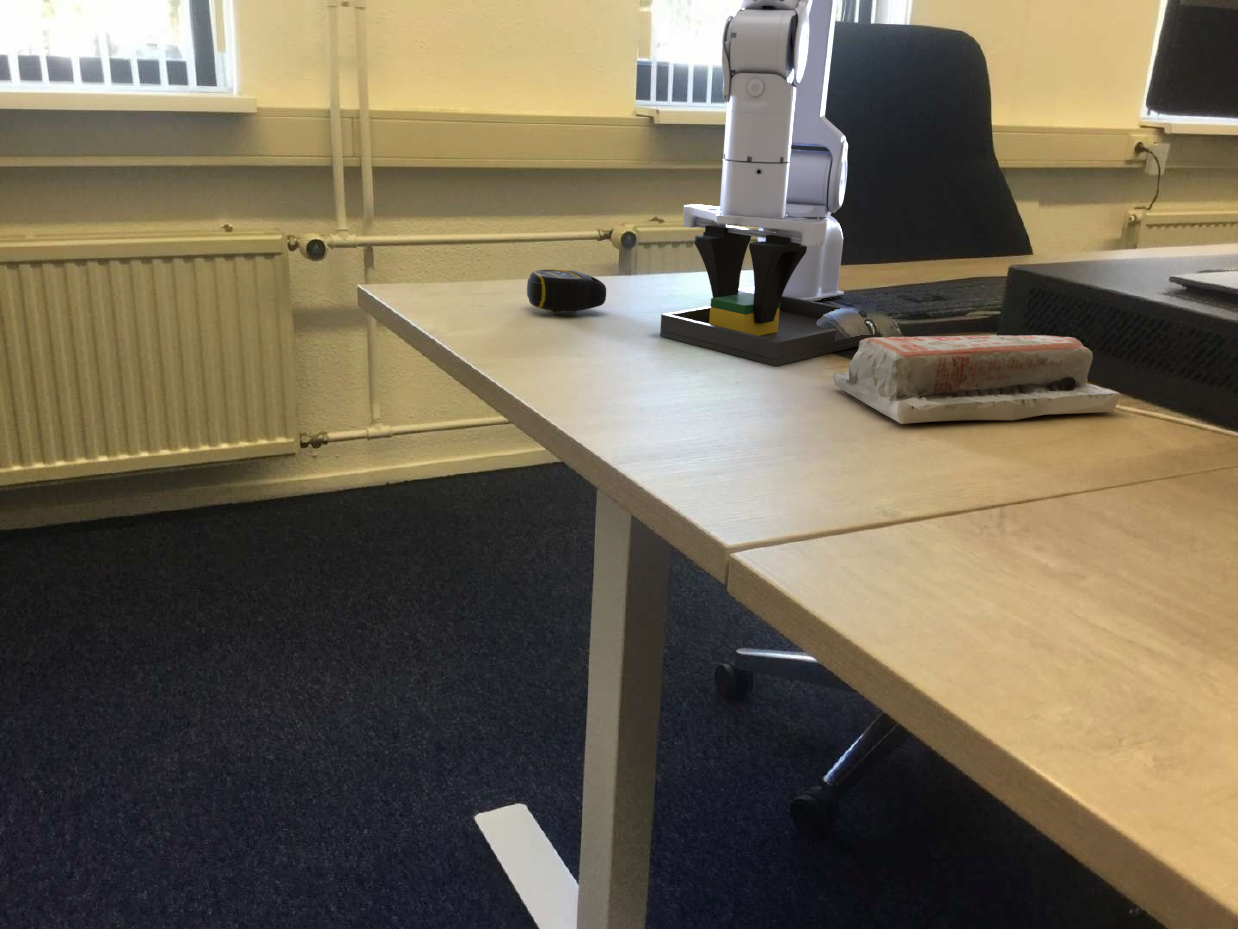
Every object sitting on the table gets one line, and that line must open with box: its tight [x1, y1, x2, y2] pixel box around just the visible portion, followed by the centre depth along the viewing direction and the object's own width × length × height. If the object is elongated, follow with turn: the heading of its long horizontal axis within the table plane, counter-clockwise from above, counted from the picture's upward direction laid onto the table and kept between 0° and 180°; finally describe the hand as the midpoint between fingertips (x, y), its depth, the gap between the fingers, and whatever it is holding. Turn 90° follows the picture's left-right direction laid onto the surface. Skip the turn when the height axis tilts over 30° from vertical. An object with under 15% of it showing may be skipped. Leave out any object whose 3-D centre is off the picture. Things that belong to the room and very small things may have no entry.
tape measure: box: [526, 268, 607, 315], centre depth 102 cm, size 7×7×4 cm
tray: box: [659, 295, 894, 367], centre depth 95 cm, size 17×13×2 cm
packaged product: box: [832, 334, 1122, 425], centre depth 76 cm, size 18×5×10 cm
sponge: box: [709, 293, 780, 336], centre depth 94 cm, size 5×4×3 cm
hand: (743, 317), depth 94 cm, fingers closed on sponge, 4 cm apart
